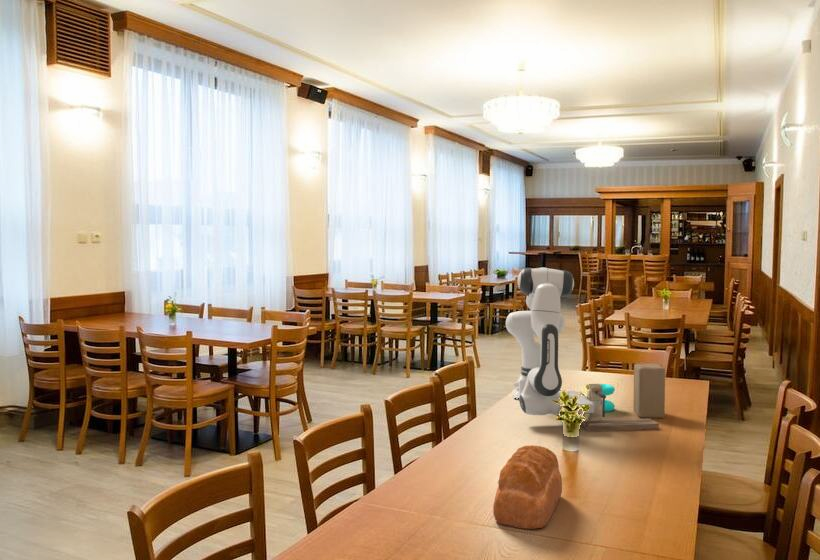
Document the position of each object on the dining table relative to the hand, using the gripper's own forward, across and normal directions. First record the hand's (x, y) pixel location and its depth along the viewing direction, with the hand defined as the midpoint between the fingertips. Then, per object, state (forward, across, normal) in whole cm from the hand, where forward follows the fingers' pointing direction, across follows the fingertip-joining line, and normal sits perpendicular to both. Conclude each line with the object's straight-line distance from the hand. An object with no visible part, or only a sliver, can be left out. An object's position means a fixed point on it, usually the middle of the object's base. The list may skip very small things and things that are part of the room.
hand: (597, 401), depth 257 cm
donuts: (+9, +19, +8) cm, 23 cm away
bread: (-48, -77, +9) cm, 91 cm away
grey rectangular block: (+24, +8, +8) cm, 27 cm away
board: (+6, -8, +8) cm, 13 cm away
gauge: (-1, -3, +7) cm, 8 cm away
